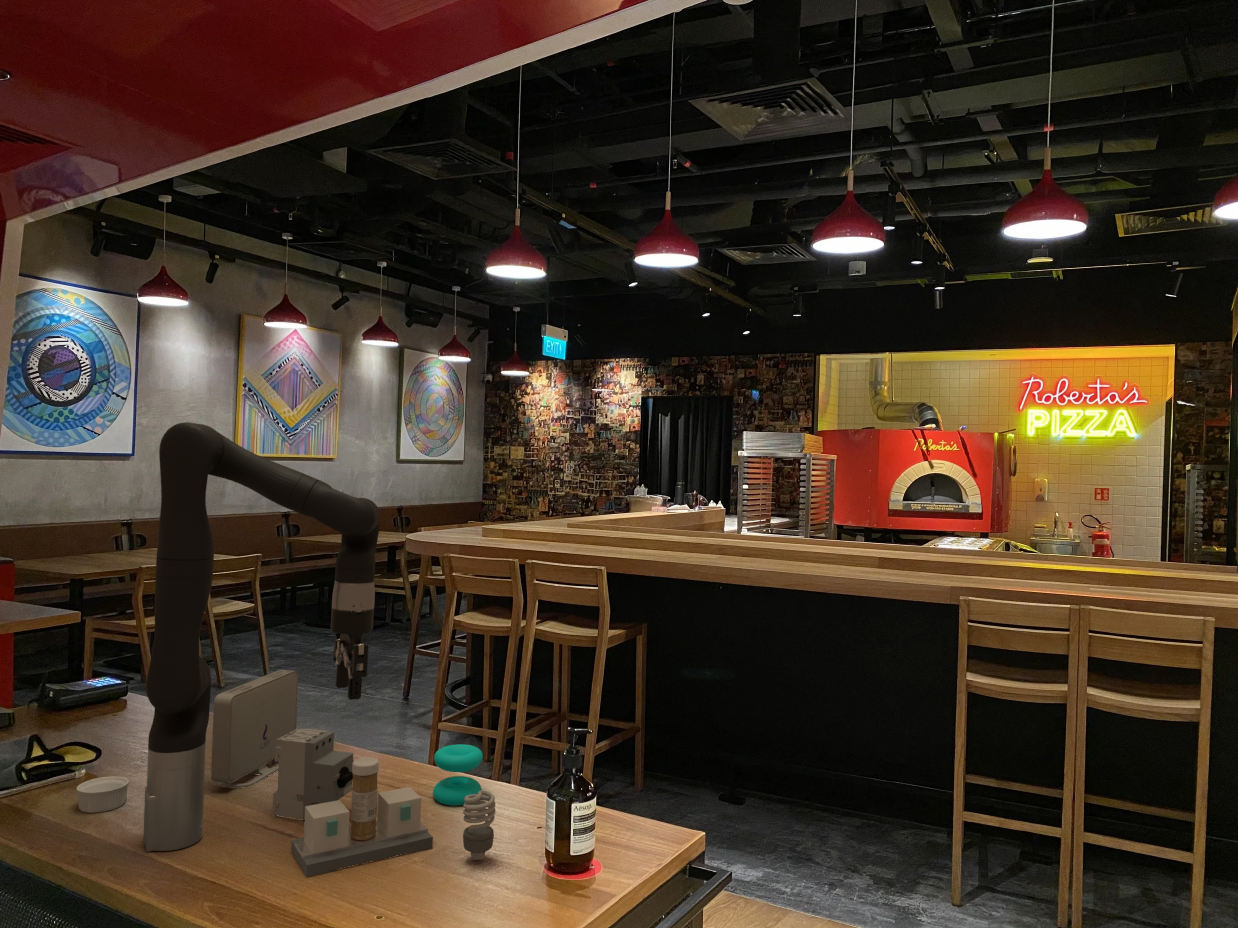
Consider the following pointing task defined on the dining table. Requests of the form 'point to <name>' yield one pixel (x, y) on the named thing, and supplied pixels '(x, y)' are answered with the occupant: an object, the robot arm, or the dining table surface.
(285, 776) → the circuit breaker
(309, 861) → the mounting board
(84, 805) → the ramekin
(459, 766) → the donuts
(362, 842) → the din rail
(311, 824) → the mounted modules
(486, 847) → the light bulb
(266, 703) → the network device
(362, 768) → the sprinkles bottle
